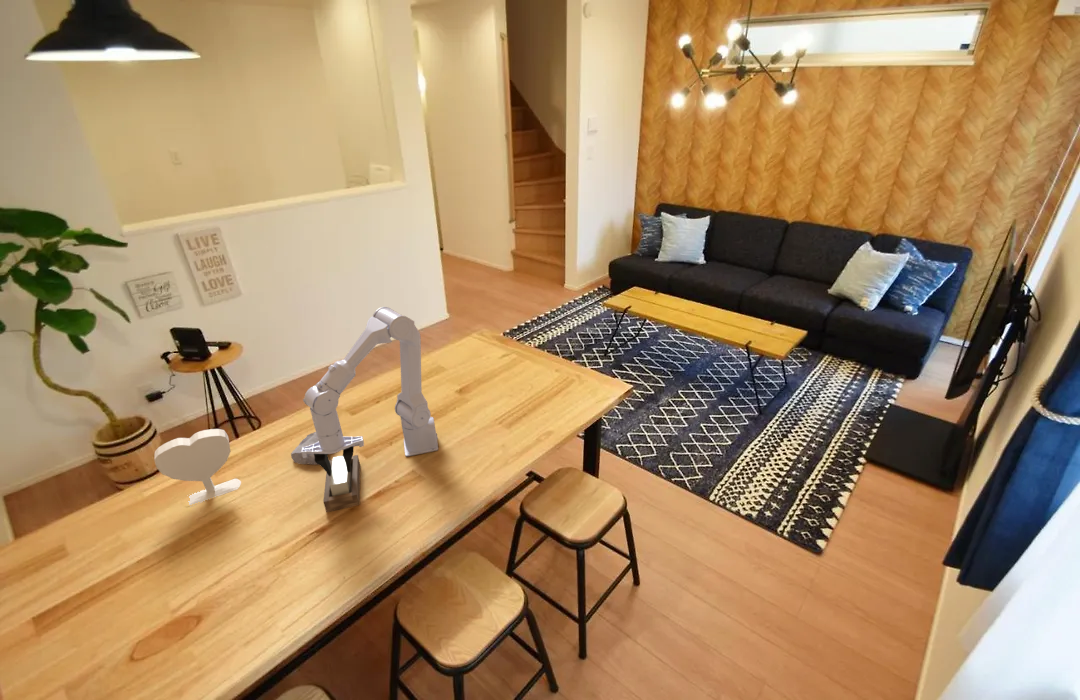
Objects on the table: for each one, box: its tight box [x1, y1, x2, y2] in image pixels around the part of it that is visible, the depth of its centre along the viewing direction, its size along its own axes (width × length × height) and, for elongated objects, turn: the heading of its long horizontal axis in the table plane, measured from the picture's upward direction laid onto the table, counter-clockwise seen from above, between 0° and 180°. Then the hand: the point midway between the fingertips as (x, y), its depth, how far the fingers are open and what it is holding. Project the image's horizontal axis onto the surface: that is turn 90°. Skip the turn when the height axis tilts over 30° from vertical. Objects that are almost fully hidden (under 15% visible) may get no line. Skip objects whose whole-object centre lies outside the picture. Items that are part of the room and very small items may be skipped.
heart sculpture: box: [154, 428, 242, 505], centre depth 125 cm, size 16×5×18 cm, turn 124°
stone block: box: [290, 431, 320, 466], centre depth 143 cm, size 12×5×10 cm
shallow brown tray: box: [323, 454, 361, 513], centre depth 130 cm, size 8×16×4 cm, turn 17°
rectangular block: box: [330, 454, 352, 496], centre depth 129 cm, size 4×12×4 cm, turn 18°
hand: (339, 471), depth 128 cm, fingers closed on rectangular block, 4 cm apart
